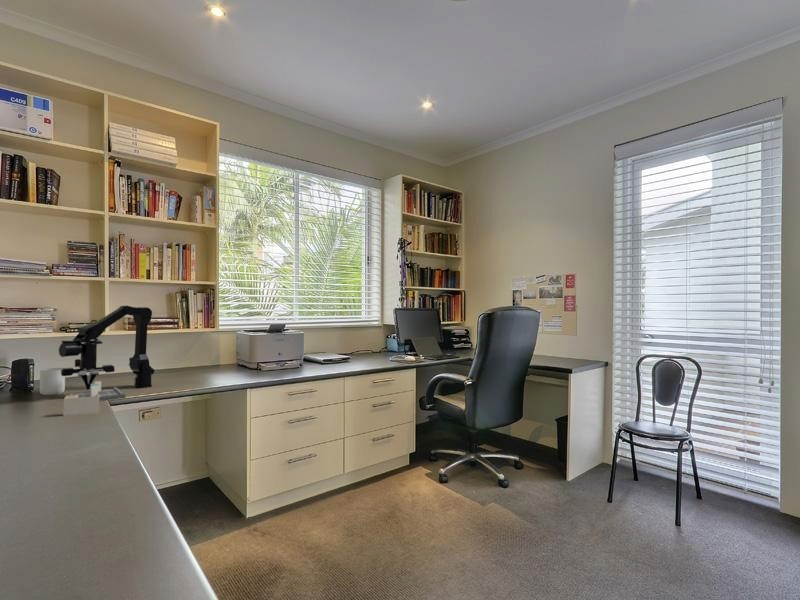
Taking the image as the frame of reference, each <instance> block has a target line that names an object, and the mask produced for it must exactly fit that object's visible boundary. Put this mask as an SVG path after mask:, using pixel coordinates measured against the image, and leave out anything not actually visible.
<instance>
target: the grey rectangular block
mask: <svg viewBox="0 0 800 600" xmlns="http://www.w3.org/2000/svg"><path fill="white" fill-rule="evenodd" d="M94 383H98V392H99V391H101V390H102V380H101V379H94V380H93V384H94Z"/></svg>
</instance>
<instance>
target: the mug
mask: <svg viewBox="0 0 800 600" xmlns="http://www.w3.org/2000/svg"><path fill="white" fill-rule="evenodd" d="M62 368H63V367H52V368H51V367H50V368H42V369H39V393H40V394H41V395H42V396H53V395H55V396H56V395H60V394H63V392H65V390H66V376H62V375H61V369H62Z"/></svg>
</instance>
